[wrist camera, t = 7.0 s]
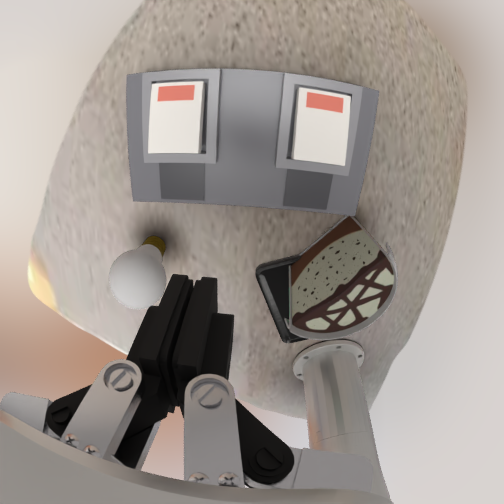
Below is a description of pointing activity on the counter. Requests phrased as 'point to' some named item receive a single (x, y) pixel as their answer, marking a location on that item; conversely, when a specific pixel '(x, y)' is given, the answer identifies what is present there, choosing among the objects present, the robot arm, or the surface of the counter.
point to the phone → (278, 293)
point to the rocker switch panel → (248, 144)
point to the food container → (340, 283)
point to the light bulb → (139, 275)
